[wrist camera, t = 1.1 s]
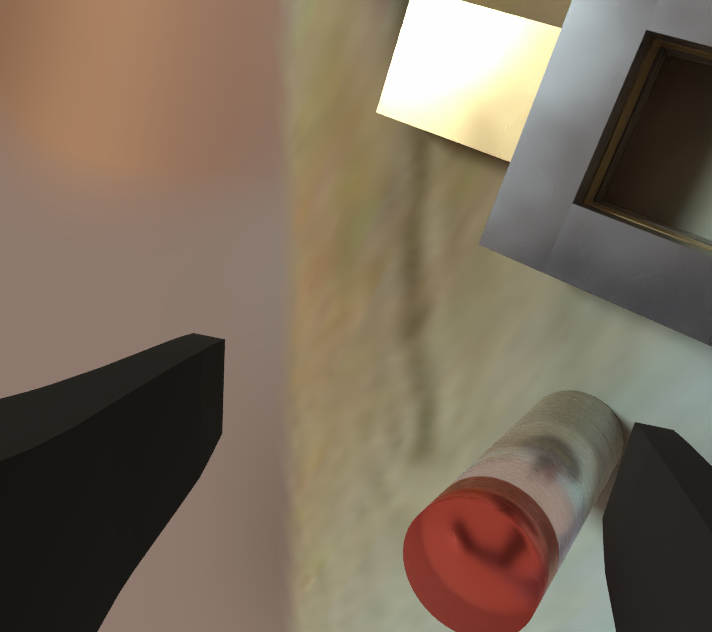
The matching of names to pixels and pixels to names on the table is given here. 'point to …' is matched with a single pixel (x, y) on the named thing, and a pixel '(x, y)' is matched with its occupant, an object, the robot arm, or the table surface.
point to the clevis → (562, 137)
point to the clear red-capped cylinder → (513, 516)
